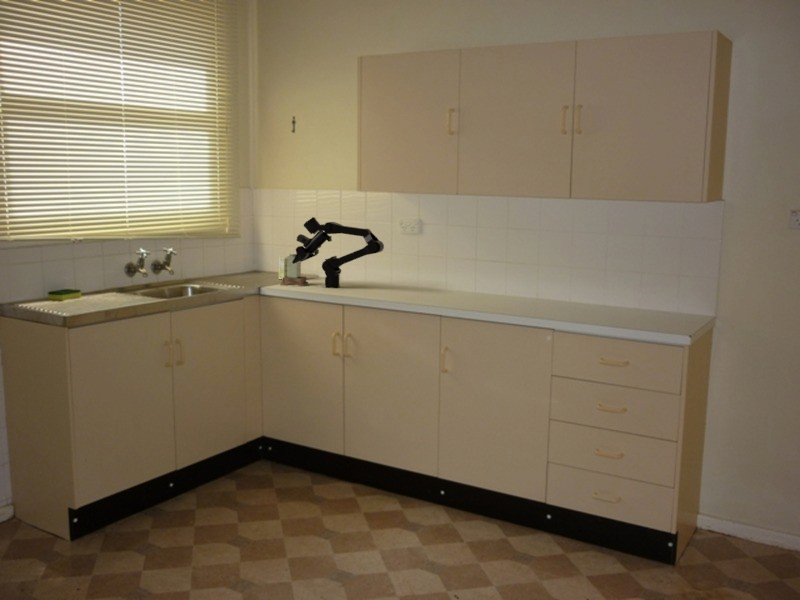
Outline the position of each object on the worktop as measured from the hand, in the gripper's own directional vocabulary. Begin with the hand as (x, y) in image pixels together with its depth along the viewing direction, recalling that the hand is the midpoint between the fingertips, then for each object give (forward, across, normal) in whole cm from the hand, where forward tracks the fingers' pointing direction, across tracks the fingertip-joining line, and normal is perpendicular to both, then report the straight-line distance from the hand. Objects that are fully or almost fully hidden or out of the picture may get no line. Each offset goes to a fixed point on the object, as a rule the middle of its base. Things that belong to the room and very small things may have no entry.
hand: (296, 262), depth 403 cm
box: (+15, -16, +1) cm, 23 cm away
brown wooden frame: (+9, 0, +7) cm, 11 cm away
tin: (+8, 0, +6) cm, 10 cm away
